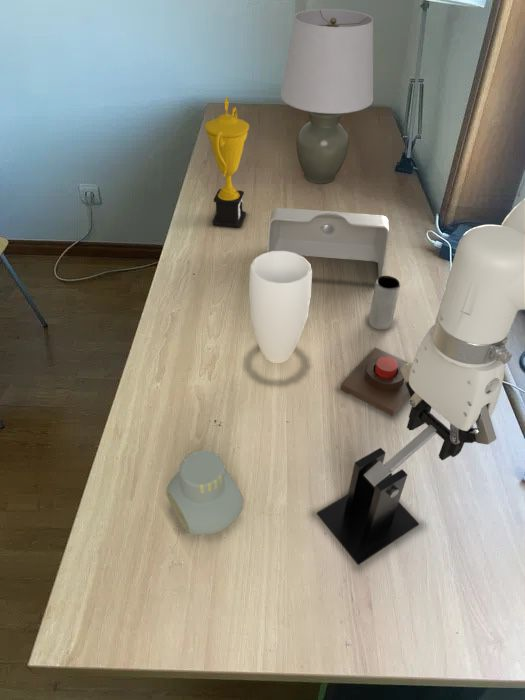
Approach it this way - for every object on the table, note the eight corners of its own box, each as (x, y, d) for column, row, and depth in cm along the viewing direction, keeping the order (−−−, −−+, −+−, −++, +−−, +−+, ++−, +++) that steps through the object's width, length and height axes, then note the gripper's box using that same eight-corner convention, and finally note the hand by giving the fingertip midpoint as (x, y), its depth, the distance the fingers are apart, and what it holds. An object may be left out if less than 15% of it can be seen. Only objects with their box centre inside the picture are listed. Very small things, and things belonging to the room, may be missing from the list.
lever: (427, 413, 75) (425, 405, 73) (456, 439, 72) (454, 431, 70) (359, 473, 74) (355, 466, 72) (385, 501, 71) (382, 495, 69)
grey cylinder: (386, 335, 109) (395, 292, 102) (364, 327, 111) (372, 284, 104) (394, 322, 112) (403, 279, 105) (372, 315, 114) (381, 272, 107)
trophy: (240, 244, 133) (239, 115, 113) (200, 240, 134) (192, 111, 114) (255, 206, 147) (256, 84, 127) (219, 202, 148) (214, 81, 128)
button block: (373, 356, 105) (376, 339, 102) (422, 379, 100) (427, 363, 98) (339, 392, 98) (342, 376, 95) (391, 420, 93) (396, 403, 90)
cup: (256, 391, 97) (257, 290, 83) (241, 352, 105) (240, 253, 90) (312, 381, 100) (323, 280, 85) (294, 343, 107) (302, 245, 93)
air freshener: (250, 524, 78) (250, 482, 72) (198, 554, 75) (193, 513, 68) (212, 469, 85) (209, 426, 79) (162, 494, 82) (155, 452, 75)
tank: (378, 249, 132) (387, 200, 124) (381, 289, 120) (391, 238, 112) (273, 241, 134) (274, 192, 126) (265, 279, 122) (266, 228, 114)
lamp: (264, 186, 155) (267, 22, 128) (294, 154, 172) (302, 3, 145) (348, 203, 149) (369, 34, 122) (370, 168, 165) (394, 12, 138)
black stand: (374, 482, 84) (389, 426, 75) (417, 528, 78) (438, 474, 70) (315, 517, 79) (324, 462, 71) (357, 568, 74) (371, 516, 65)
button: (381, 361, 98) (382, 353, 97) (399, 370, 97) (401, 362, 96) (371, 372, 96) (372, 365, 95) (390, 381, 95) (391, 374, 93)
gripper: (556, 368, 58) (502, 472, 71) (435, 286, 69) (407, 389, 81) (508, 396, 55) (461, 500, 68) (390, 306, 66) (367, 409, 78)
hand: (432, 438), depth 74 cm, fingers closed on lever, 5 cm apart
